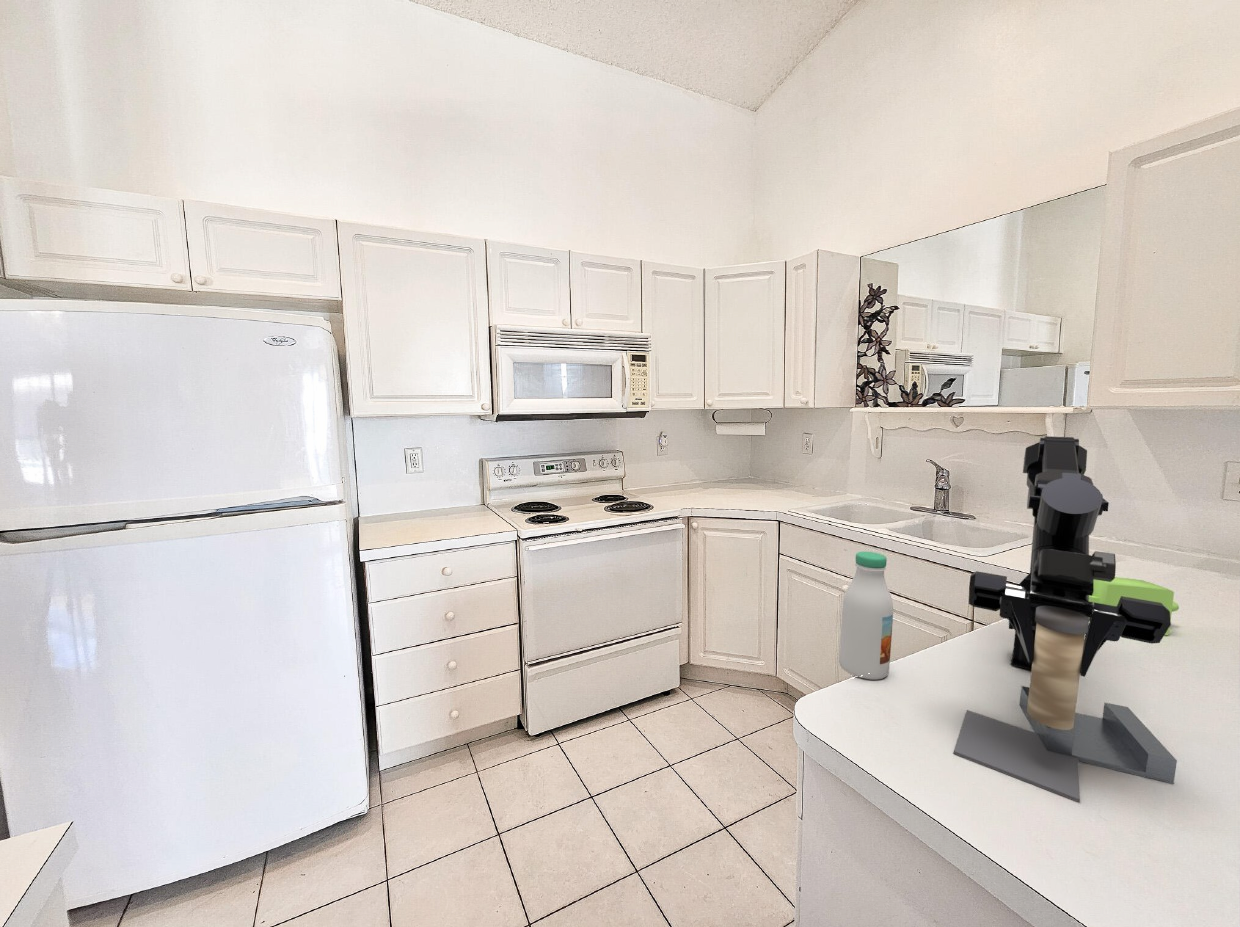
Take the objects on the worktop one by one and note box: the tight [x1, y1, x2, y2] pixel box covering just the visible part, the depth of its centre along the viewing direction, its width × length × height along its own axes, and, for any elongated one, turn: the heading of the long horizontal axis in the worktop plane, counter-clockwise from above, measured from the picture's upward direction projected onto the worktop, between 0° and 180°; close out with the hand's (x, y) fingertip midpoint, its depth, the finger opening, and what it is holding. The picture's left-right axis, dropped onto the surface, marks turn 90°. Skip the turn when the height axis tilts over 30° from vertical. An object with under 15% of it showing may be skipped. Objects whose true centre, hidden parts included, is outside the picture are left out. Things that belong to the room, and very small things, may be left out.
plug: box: [1027, 606, 1090, 730], centre depth 61 cm, size 5×5×14 cm
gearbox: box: [1088, 576, 1180, 636], centre depth 106 cm, size 18×10×10 cm, turn 74°
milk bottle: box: [838, 551, 894, 681], centre depth 85 cm, size 8×8×20 cm
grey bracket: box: [1019, 685, 1178, 785], centre depth 68 cm, size 12×12×3 cm
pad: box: [953, 709, 1081, 803], centre depth 65 cm, size 12×12×1 cm
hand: (1056, 668), depth 60 cm, fingers closed on plug, 4 cm apart
